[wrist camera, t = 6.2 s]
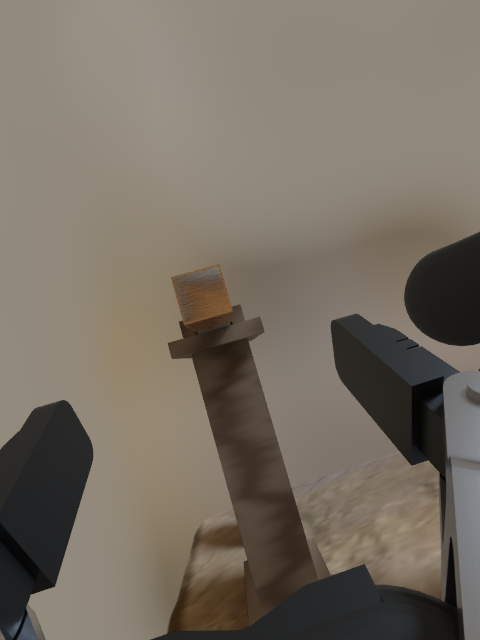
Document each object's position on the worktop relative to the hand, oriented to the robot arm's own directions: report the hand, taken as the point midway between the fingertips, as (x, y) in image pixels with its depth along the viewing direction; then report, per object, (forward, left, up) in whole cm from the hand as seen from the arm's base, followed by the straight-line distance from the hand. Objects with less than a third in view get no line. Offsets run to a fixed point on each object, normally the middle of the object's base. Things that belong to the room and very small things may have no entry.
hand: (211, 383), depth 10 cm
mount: (0, -29, -29) cm, 40 cm away
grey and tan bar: (0, -23, +3) cm, 23 cm away
